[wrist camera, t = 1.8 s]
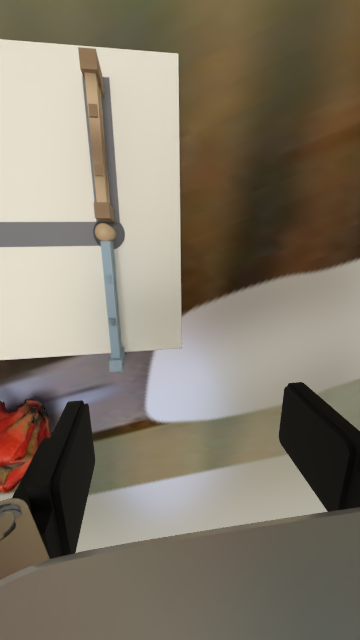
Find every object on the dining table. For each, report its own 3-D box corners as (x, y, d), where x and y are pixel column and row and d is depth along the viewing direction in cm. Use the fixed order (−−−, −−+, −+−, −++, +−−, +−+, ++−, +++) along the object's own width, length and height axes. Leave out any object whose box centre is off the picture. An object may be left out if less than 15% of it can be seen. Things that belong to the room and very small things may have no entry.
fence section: (89, 81, 22) (78, 47, 18) (103, 82, 22) (95, 48, 18) (102, 222, 25) (94, 218, 21) (115, 222, 25) (109, 218, 21)
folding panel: (100, 226, 25) (94, 223, 21) (115, 225, 25) (111, 223, 22) (112, 357, 28) (108, 372, 25) (125, 356, 29) (123, 371, 25)
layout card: (177, 56, 22) (178, 53, 22) (181, 347, 30) (181, 348, 30) (-112, 33, 20) (-116, 29, 19) (-27, 360, 27) (-29, 362, 27)
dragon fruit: (-19, 445, 32) (54, 376, 32) (13, 508, 29) (92, 431, 30) (-104, 463, 24) (-5, 371, 24) (-71, 552, 21) (40, 445, 22)
